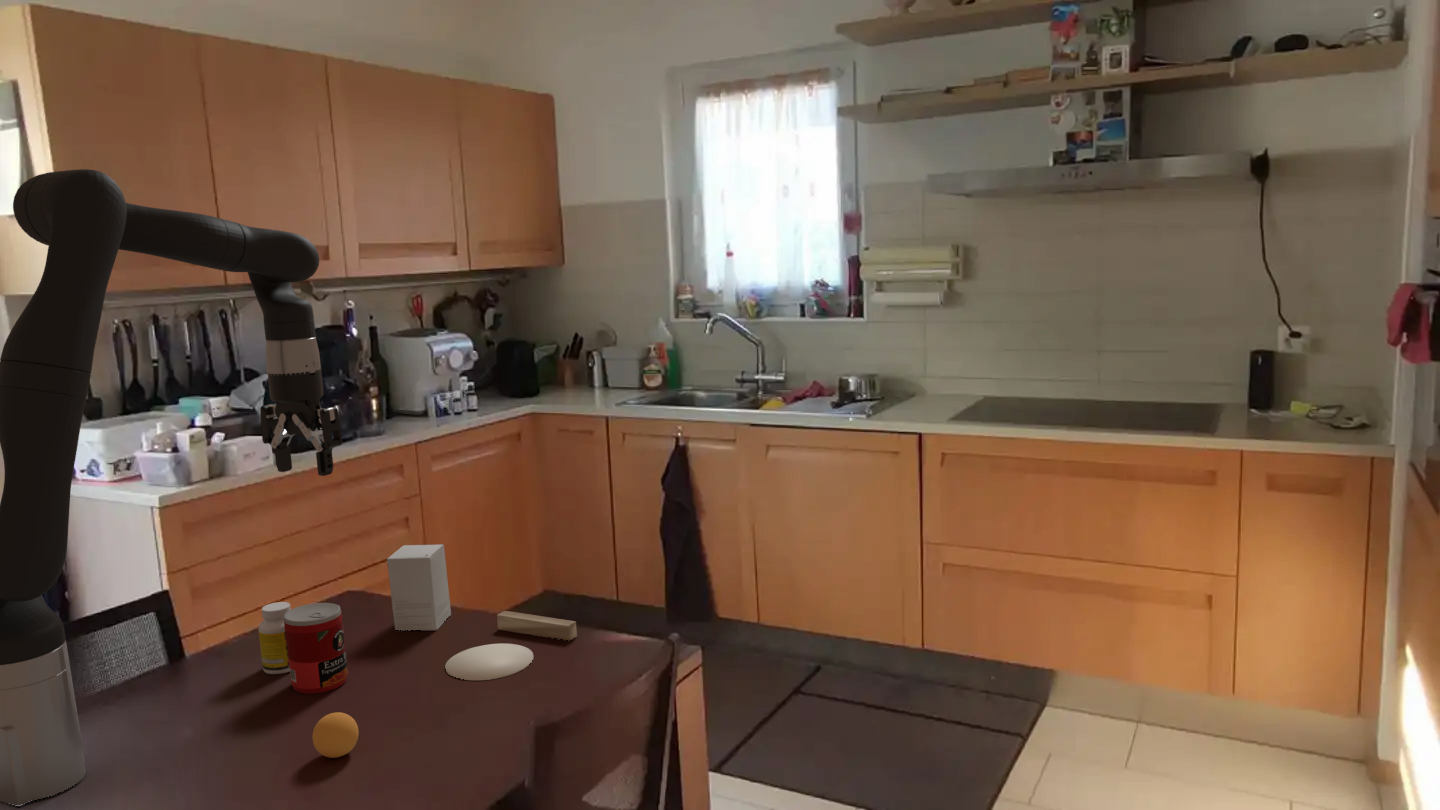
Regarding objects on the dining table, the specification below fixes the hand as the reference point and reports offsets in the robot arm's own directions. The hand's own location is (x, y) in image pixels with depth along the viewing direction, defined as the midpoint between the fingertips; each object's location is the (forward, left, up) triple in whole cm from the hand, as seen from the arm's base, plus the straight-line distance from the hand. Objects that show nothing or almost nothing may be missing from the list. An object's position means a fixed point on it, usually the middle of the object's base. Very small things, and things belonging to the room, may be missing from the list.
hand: (305, 472), depth 160 cm
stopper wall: (+17, -28, -29) cm, 44 cm away
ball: (-25, -28, -26) cm, 46 cm away
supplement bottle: (-8, +1, -29) cm, 30 cm away
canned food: (-10, -9, -29) cm, 32 cm away
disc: (+5, -28, -29) cm, 41 cm away
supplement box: (+14, -7, -29) cm, 33 cm away
